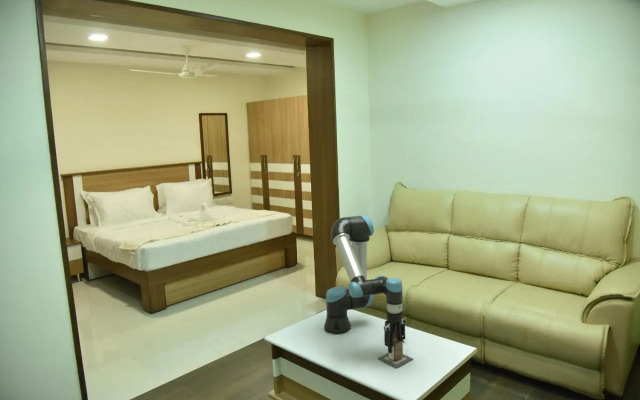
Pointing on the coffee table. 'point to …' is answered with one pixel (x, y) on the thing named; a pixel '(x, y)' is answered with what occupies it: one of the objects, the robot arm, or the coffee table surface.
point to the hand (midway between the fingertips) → (395, 356)
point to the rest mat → (394, 363)
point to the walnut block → (397, 349)
